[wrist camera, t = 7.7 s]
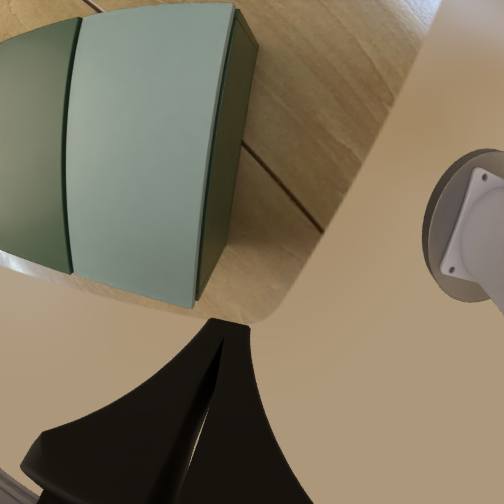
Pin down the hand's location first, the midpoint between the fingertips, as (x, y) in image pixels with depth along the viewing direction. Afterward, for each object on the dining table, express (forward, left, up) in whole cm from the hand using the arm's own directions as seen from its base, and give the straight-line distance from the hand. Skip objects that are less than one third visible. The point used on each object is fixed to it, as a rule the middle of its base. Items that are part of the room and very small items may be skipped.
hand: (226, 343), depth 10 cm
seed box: (+9, -5, -10) cm, 15 cm away
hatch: (+5, -5, -4) cm, 8 cm away
